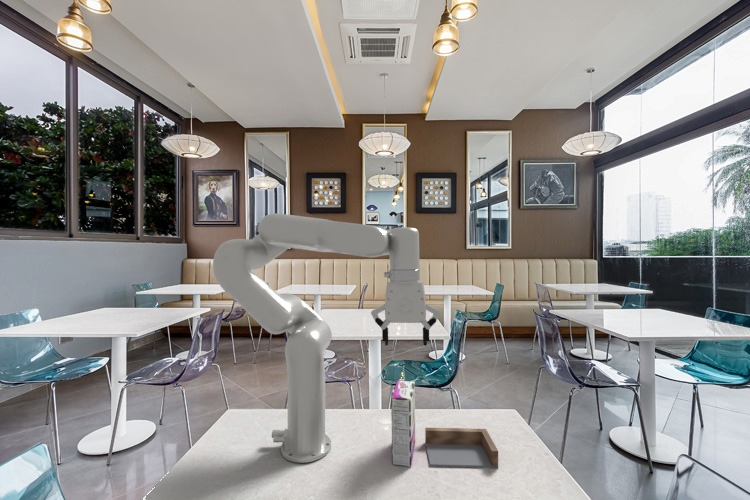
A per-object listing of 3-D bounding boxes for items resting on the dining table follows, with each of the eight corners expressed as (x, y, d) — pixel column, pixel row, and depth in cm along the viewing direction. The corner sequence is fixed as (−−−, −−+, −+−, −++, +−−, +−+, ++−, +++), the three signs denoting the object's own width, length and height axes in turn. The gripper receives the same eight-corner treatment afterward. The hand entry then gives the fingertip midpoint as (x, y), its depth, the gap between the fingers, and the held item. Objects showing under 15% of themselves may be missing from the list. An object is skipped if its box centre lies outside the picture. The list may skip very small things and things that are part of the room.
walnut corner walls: (430, 466, 81) (430, 449, 81) (425, 442, 91) (425, 427, 91) (498, 468, 80) (498, 451, 80) (485, 443, 90) (485, 428, 90)
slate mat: (430, 466, 81) (430, 464, 81) (425, 442, 91) (425, 440, 91) (498, 468, 80) (498, 466, 80) (485, 443, 90) (485, 442, 90)
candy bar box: (396, 440, 92) (397, 379, 92) (415, 442, 91) (415, 380, 91) (390, 465, 81) (390, 396, 81) (411, 468, 80) (411, 398, 80)
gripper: (369, 278, 83) (370, 348, 83) (441, 277, 82) (442, 348, 82) (371, 275, 91) (372, 340, 91) (437, 275, 89) (438, 340, 89)
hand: (405, 344), depth 86 cm, fingers open, 9 cm apart
